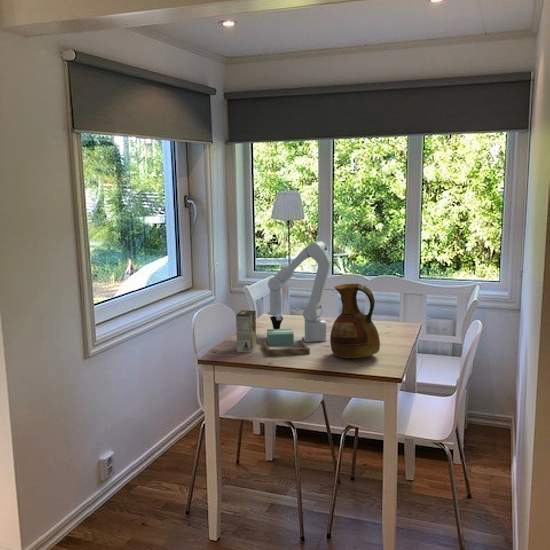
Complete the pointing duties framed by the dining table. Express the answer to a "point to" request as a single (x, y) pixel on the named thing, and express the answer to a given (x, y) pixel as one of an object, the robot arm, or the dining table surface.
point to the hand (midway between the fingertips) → (276, 332)
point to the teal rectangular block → (280, 336)
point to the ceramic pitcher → (354, 325)
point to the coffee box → (246, 331)
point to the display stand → (287, 350)
